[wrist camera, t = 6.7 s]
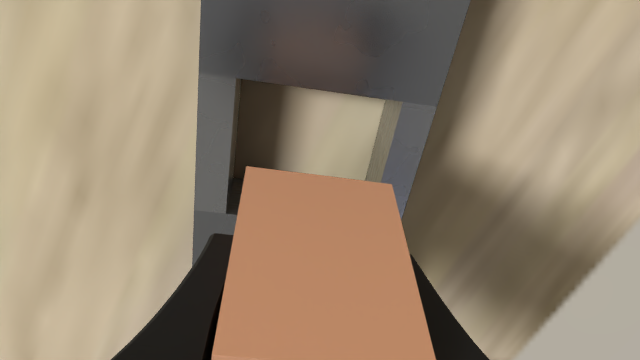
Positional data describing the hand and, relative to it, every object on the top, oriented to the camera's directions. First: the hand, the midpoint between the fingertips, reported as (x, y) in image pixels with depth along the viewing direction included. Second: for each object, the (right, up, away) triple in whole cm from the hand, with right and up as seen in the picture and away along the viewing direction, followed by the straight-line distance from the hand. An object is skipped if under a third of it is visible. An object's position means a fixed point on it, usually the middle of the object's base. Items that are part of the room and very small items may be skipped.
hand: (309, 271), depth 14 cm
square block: (0, +1, +1) cm, 2 cm away
